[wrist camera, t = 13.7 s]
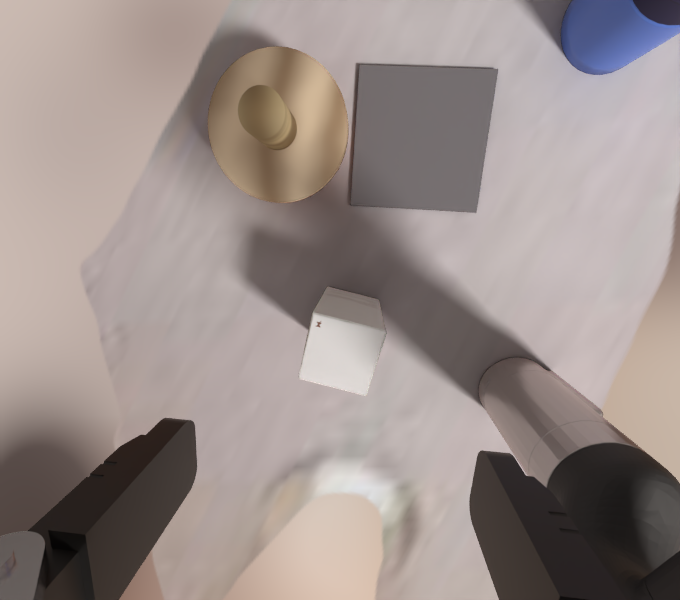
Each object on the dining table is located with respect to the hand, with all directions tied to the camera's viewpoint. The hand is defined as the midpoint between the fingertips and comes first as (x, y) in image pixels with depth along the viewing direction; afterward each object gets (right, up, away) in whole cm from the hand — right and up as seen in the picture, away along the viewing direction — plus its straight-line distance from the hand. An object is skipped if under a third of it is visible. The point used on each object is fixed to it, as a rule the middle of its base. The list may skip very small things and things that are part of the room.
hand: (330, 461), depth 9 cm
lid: (-6, +22, +24) cm, 33 cm away
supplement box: (+1, +2, +35) cm, 35 cm away
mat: (+9, +23, +29) cm, 38 cm away
